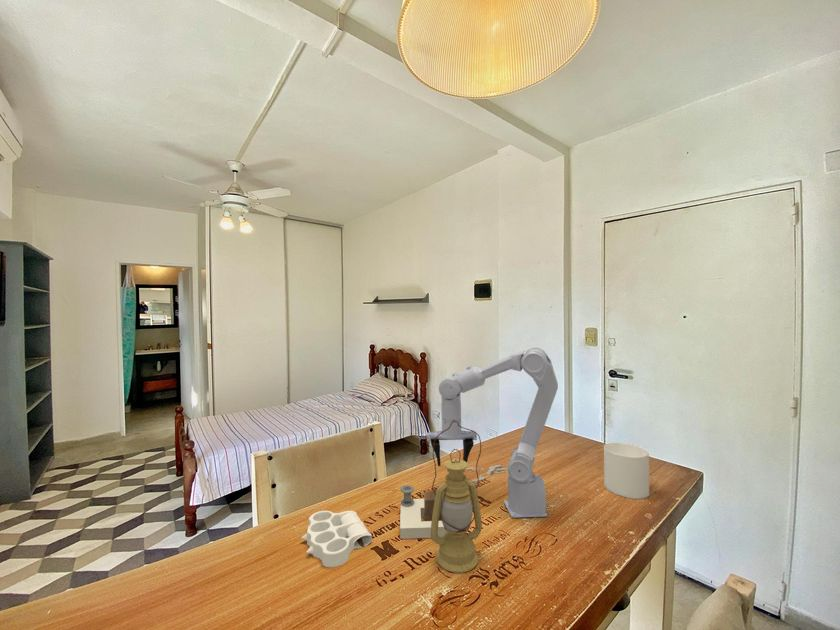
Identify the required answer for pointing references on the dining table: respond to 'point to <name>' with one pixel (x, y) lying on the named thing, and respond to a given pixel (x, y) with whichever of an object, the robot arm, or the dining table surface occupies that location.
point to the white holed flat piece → (335, 536)
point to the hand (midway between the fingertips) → (452, 464)
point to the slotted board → (415, 517)
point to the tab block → (428, 505)
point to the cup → (626, 470)
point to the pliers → (489, 471)
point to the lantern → (456, 517)
